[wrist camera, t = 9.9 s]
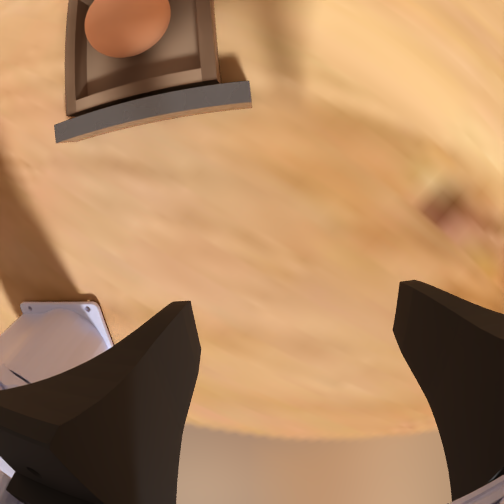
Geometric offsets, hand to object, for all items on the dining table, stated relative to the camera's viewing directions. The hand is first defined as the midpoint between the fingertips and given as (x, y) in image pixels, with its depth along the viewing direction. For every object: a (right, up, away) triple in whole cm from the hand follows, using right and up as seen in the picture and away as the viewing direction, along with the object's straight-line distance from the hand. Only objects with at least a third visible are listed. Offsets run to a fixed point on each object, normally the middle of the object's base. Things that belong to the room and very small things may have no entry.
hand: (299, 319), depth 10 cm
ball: (-9, +16, +4) cm, 19 cm away
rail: (-8, +11, +7) cm, 15 cm away
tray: (-9, +16, +5) cm, 19 cm away
